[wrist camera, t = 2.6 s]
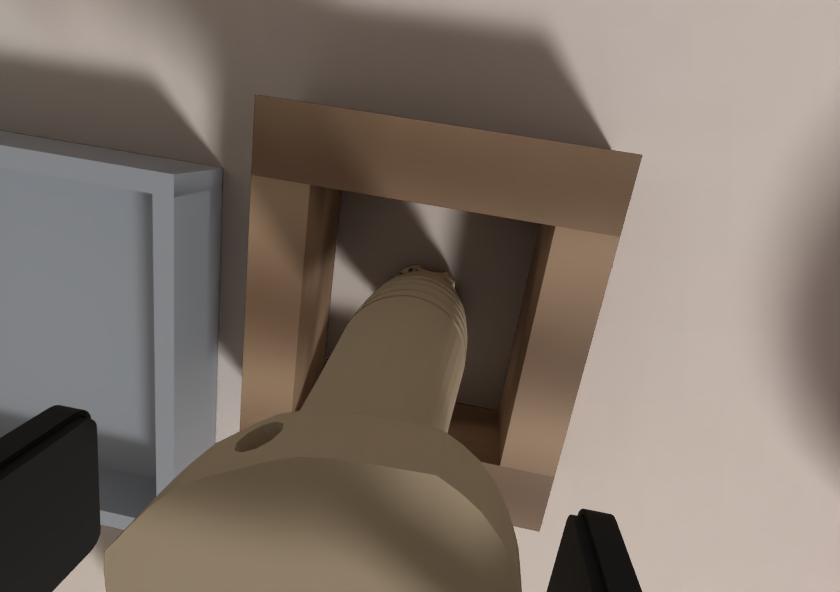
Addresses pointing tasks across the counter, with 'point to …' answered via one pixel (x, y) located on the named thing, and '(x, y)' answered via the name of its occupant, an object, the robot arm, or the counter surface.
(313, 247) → the holder
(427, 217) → the counter surface
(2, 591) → the robot arm
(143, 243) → the tray
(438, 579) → the handle
